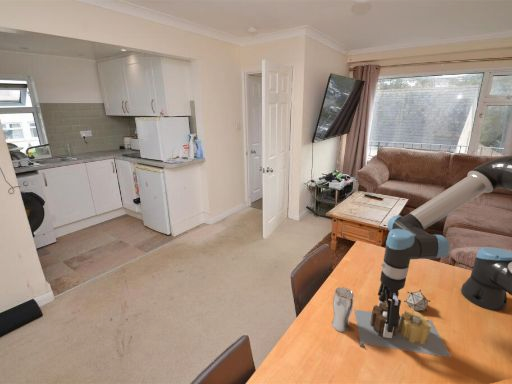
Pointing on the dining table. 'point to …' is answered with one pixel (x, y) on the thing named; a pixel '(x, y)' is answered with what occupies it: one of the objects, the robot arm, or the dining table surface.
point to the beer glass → (342, 308)
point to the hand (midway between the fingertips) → (383, 325)
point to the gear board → (398, 337)
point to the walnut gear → (380, 319)
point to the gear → (414, 327)
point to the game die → (417, 301)
